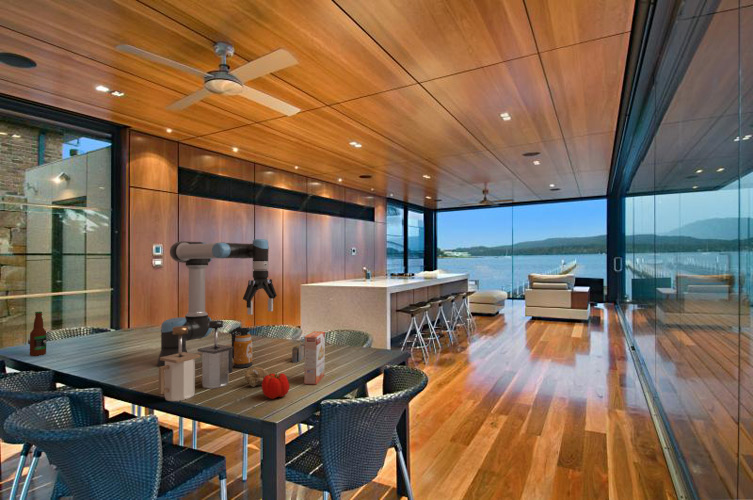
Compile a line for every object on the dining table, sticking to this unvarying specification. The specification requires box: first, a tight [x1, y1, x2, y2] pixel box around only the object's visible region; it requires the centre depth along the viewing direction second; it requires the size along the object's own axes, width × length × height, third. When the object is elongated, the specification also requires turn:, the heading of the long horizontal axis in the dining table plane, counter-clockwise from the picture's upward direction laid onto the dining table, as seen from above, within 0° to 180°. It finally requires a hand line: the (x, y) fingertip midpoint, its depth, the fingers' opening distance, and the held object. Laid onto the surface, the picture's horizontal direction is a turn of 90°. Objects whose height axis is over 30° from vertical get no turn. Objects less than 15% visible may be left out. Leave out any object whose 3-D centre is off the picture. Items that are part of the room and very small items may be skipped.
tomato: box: [261, 372, 290, 400], centre depth 158 cm, size 11×11×9 cm
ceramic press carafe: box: [158, 352, 201, 402], centre depth 157 cm, size 10×14×16 cm
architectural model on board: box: [291, 343, 305, 364], centre depth 216 cm, size 11×3×10 cm, turn 166°
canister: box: [230, 326, 253, 369], centre depth 204 cm, size 9×11×20 cm
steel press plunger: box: [209, 319, 224, 349], centre depth 174 cm, size 7×7×16 cm
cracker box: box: [303, 330, 326, 385], centre depth 180 cm, size 14×6×21 cm, turn 172°
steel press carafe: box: [197, 344, 234, 390], centre depth 175 cm, size 10×14×16 cm
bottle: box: [29, 311, 48, 357], centre depth 231 cm, size 7×7×25 cm
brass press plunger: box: [173, 326, 188, 357], centre depth 159 cm, size 7×7×16 cm
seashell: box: [244, 366, 270, 388], centre depth 175 cm, size 14×8×8 cm, turn 168°
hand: (260, 312), depth 199 cm, fingers open, 13 cm apart
